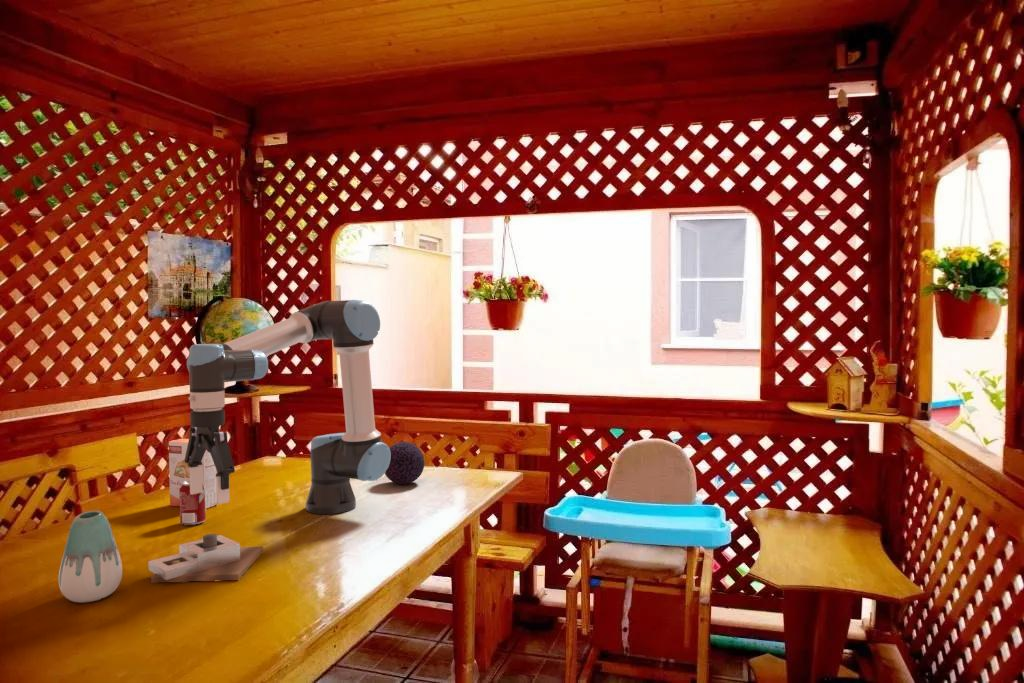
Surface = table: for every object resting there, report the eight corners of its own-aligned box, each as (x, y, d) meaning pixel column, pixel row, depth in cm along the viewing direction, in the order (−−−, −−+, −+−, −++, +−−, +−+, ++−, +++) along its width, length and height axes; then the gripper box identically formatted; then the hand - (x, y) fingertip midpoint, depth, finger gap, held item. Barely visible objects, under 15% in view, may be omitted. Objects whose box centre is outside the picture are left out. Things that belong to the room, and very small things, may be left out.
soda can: (195, 527, 196) (194, 485, 196) (174, 526, 197) (173, 484, 197) (210, 520, 203) (209, 480, 202) (190, 519, 204) (189, 479, 204)
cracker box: (168, 506, 218) (167, 440, 217) (183, 501, 224) (182, 437, 223) (203, 510, 213) (202, 443, 213) (218, 505, 219) (216, 440, 218)
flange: (220, 550, 172) (220, 534, 171) (240, 560, 165) (239, 543, 165) (148, 569, 159) (147, 552, 159) (166, 580, 152) (165, 562, 152)
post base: (262, 552, 175) (262, 523, 174) (238, 580, 156) (238, 547, 155) (185, 554, 173) (184, 524, 173) (151, 583, 154) (150, 550, 154)
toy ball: (374, 486, 243) (373, 444, 242) (396, 477, 257) (395, 437, 256) (411, 490, 237) (411, 447, 237) (432, 480, 251) (431, 439, 251)
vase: (76, 612, 139) (74, 524, 139) (48, 600, 145) (46, 516, 145) (133, 593, 149) (132, 510, 148) (105, 582, 155) (103, 503, 155)
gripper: (168, 406, 169) (170, 492, 169) (217, 415, 152) (219, 510, 153) (199, 403, 174) (200, 486, 175) (249, 411, 158) (250, 503, 159)
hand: (209, 498), depth 164 cm, fingers open, 13 cm apart
